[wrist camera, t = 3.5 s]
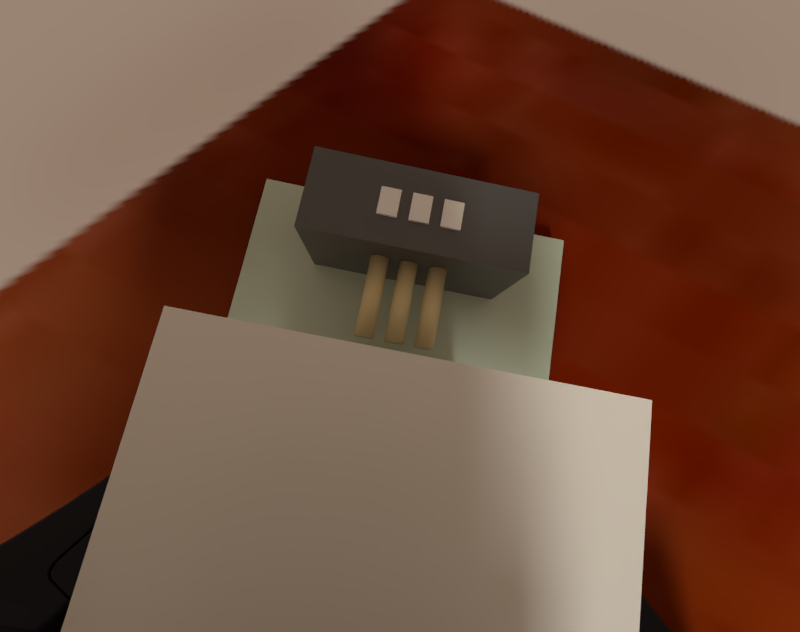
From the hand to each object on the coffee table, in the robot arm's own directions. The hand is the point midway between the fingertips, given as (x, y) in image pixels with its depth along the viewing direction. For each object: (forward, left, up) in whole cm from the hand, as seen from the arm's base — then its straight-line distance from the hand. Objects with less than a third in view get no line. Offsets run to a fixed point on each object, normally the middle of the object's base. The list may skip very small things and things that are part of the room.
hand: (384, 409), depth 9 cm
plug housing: (-1, 0, -6) cm, 6 cm away
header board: (0, 0, -7) cm, 7 cm away
